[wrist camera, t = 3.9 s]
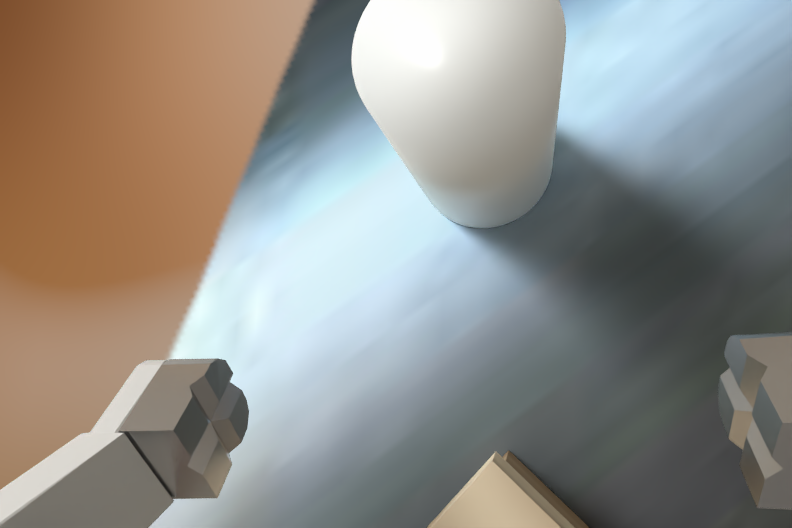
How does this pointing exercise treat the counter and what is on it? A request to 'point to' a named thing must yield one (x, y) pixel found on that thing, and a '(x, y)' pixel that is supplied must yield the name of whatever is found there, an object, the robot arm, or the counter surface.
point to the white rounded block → (466, 98)
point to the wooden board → (506, 500)
